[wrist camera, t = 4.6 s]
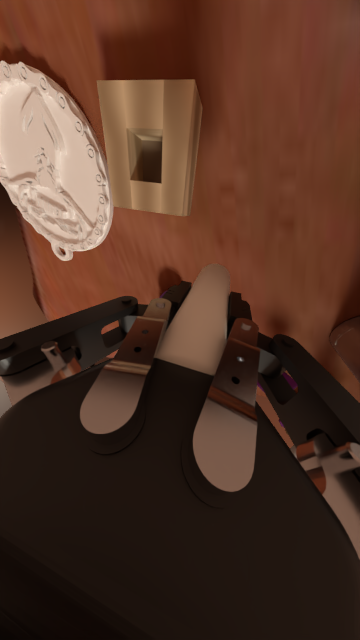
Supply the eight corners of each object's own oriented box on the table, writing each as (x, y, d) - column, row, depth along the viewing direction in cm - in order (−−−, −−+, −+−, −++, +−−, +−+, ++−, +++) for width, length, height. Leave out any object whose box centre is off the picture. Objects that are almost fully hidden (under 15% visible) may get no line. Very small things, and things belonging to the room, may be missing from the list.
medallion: (123, 119, 21) (112, 109, 19) (108, 280, 38) (101, 283, 36) (-29, 34, 21) (-54, 16, 19) (24, 236, 38) (13, 237, 36)
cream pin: (234, 267, 14) (235, 372, 5) (224, 297, 16) (211, 414, 7) (201, 261, 15) (143, 344, 5) (196, 290, 17) (146, 390, 7)
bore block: (202, 107, 18) (194, 79, 15) (189, 215, 25) (182, 216, 21) (123, 105, 20) (96, 80, 16) (130, 207, 27) (113, 206, 23)
